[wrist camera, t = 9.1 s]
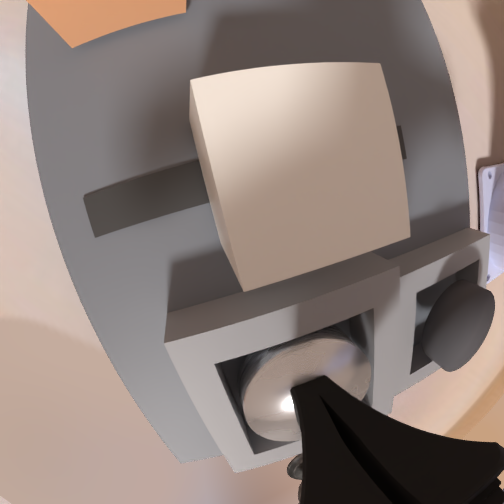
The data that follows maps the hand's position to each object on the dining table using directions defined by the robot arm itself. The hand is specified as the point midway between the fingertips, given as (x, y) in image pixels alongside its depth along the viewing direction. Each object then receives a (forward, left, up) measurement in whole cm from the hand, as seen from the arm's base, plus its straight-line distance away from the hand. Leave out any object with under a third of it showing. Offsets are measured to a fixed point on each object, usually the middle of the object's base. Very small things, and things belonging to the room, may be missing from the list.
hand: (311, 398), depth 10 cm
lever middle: (0, -8, -2) cm, 8 cm away
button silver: (0, 0, -1) cm, 1 cm away
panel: (-2, -8, -4) cm, 9 cm away
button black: (-8, 0, 0) cm, 8 cm away
